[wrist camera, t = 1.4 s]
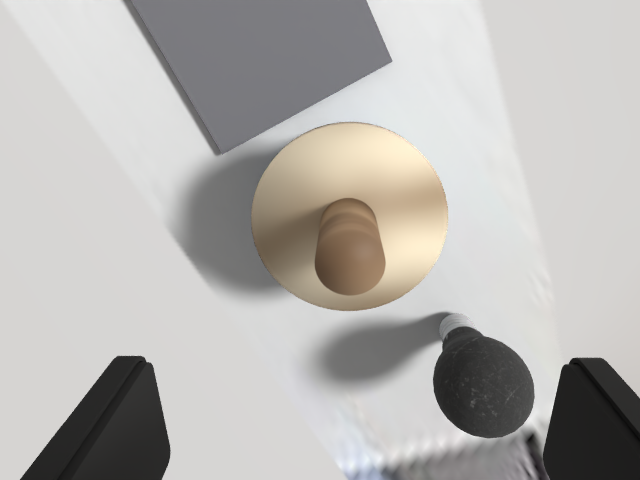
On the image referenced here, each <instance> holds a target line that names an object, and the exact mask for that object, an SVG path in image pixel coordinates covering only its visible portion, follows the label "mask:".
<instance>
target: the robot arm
mask: <svg viewBox="0 0 640 480" xmlns="http://www.w3.org/2000/svg"><path fill="white" fill-rule="evenodd" d="M169 459H170V444H169V439H168V435H167V430H166V425H165V421H164V416H163V411H162V406H161V401H160V397H159V392H158V387H157V383H156V378H155V373H154V368H153V365H152V364H151V363H149V362H146V360H145V358H144V357H142V356H117V357H116V358H114V359H113V361H112V362H111V363H110V365H109V366H108V367H107V368H106V370H105V371H104V372H103V374H102V375H101V376H100V377H99V379H98V380H97V381H96V383H95V384H94V385H93V386H92V388H91V389H90V390H89V392H88V393H87V394H86V395H85V397H84V398H83V399H82V401H81V402H80V403H79V405H78V406H77V407H76V408H75V410H74V411H73V412H72V414H71V415H70V416H69V417H68V419H67V420H66V421H65V422H64V424H63V425H62V426H61V427H60V429H59V430H58V431H57V433H56V434H55V435H54V436H53V438H52V439H51V440H50V441H49V443H48V444H47V445H46V447H45V448H44V449H43V451H42V452H41V453H40V455H39V456H38V457H37V458H36V460H35V461H34V462H33V464H32V465H31V466H30V467H29V469H28V470H27V471H26V472H25V474H24V475H23V477H22V478H21V479H20V480H162V477H163V475H164V473H165V470H166V468H167V466H168V463H169ZM543 461H544V466H545V469H546V472H547V474H548V476H549V478H550V480H640V398H639V397H638V396H637V395H636V394H635V392H634V391H633V390H632V389H631V388H630V387H629V386H628V385H627V384H626V382H624V380H623V379H622V378H621V377H620V376H619V375H618V374H617V372H616V371H615V370H614V369H613V368H612V367H611V366H610V365H609V364H608V363H607V361H605V360H604V359H602V358H573V359H572V360H571V361H570V362H569V364H566V365H564V366H563V367H562V370H561V374H560V379H559V383H558V388H557V393H556V397H555V402H554V406H553V411H552V415H551V420H550V424H549V429H548V433H547V438H546V443H545V447H544V452H543Z"/></svg>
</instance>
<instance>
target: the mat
mask: <svg viewBox="0 0 640 480" xmlns="http://www.w3.org/2000/svg"><path fill="white" fill-rule="evenodd" d="M131 1H132V3H133V5H134V6H135V8H136V10H137V11H138V13H139V15H140V17H141V18H142V20H143V22H144V23H145V25H146V27H147V28H148V30H149V32H150V33H151V35H152V37H153V38H154V40H155V42H156V43H157V45H158V47H159V49H160V50H161V52H162V54H163V55H164V57H165V59H166V60H167V62H168V64H169V65H170V67H171V69H172V70H173V72H174V74H175V76H176V77H177V79H178V81H179V82H180V84H181V86H182V87H183V89H184V91H185V92H186V94H187V96H188V97H189V99H190V101H191V102H192V104H193V106H194V108H195V109H196V111H197V113H198V114H199V116H200V118H201V119H202V121H203V123H204V124H205V126H206V128H207V129H208V131H209V133H210V134H211V136H212V138H213V140H214V141H215V143H216V145H217V146H218V148H219V150H220V151H221V153H222V154H224V153H226V152H228V151H229V150H231V149H233V148H235V147H237V146H239V145H240V144H242V143H244V142H246V141H248V140H250V139H251V138H253V137H255V136H257V135H259V134H261V133H262V132H264V131H266V130H268V129H270V128H272V127H273V126H275V125H277V124H279V123H281V122H283V121H284V120H286V119H288V118H290V117H292V116H294V115H295V114H297V113H299V112H301V111H303V110H305V109H306V108H308V107H310V106H312V105H314V104H316V103H317V102H319V101H321V100H323V99H325V98H327V97H328V96H330V95H332V94H334V93H336V92H337V91H339V90H341V89H343V88H345V87H347V86H348V85H350V84H352V83H354V82H356V81H358V80H359V79H361V78H363V77H365V76H367V75H369V74H370V73H372V72H374V71H376V70H378V69H380V68H381V67H383V66H385V65H387V64H389V63H391V62H392V59H391V57H390V55H389V52H388V50H387V48H386V45H385V43H384V41H383V38H382V36H381V34H380V31H379V29H378V27H377V24H376V22H375V20H374V17H373V15H372V13H371V10H370V8H369V6H368V3H367V1H366V0H131Z"/></svg>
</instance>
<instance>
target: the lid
mask: <svg viewBox="0 0 640 480" xmlns="http://www.w3.org/2000/svg"><path fill="white" fill-rule="evenodd" d="M251 225H252V234H253V238H254V243H255V246H256V248H257V251H258V254H259V256H260V258H261V260H262V262H263V264H264V265H265V267H266V268H267V270H268V271H269V272H270V274H271V275H272V276H273V277H274V278H275V279H276V281H277V282H278V283H279V284H280V285H282V286H283V287H284V288H285V289H286V290H287V291H289V292H290V293H292V294H293V295H295V296H296V297H298V298H300V299H302V300H304V301H306V302H308V303H311V304H313V305H316V306H319V307H323V308H327V309H332V310H340V311H357V310H366V309H371V308H375V307H379V306H382V305H384V304H387V303H390V302H392V301H394V300H396V299H398V298H400V297H401V296H403V295H405V294H406V293H408V292H409V291H411V290H412V289H413V288H414V287H415V286H416V285H418V284H419V283H420V282H421V281H422V280H423V279H424V278H425V276H426V275H427V274H428V273H429V271H430V270H431V269H432V267H433V266H434V264H435V263H436V261H437V259H438V257H439V255H440V253H441V250H442V248H443V245H444V242H445V238H446V233H447V226H448V206H447V201H446V196H445V192H444V189H443V186H442V184H441V181H440V179H439V177H438V175H437V173H436V171H435V170H434V168H433V167H432V166H431V164H430V163H429V161H428V160H427V159H426V158H425V157H424V156H423V155H422V154H421V153H420V152H419V151H418V150H417V149H416V147H415V146H413V145H412V144H411V143H410V142H408V141H407V140H406V139H404V138H403V137H401V136H399V135H398V134H396V133H394V132H392V131H390V130H387V129H385V128H383V127H380V126H376V125H372V124H368V123H360V122H340V123H333V124H327V125H324V126H321V127H317V128H315V129H312V130H310V131H308V132H306V133H304V134H302V135H300V136H299V137H297V138H296V139H294V140H292V141H291V142H290V143H289V144H288V145H286V146H285V147H284V148H283V149H282V150H281V151H280V152H279V153H278V154H277V155H276V157H275V158H274V159H273V160H272V161H271V163H270V164H269V166H268V167H267V169H266V170H265V171H264V173H263V175H262V177H261V179H260V181H259V183H258V185H257V188H256V191H255V194H254V198H253V204H252V211H251Z"/></svg>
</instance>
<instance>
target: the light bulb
mask: <svg viewBox="0 0 640 480" xmlns="http://www.w3.org/2000/svg"><path fill="white" fill-rule="evenodd" d="M439 332H440V336H441V339H442V342H443V346H442V349H443V352H442V353H441V355H440V356H439V358H438V360H437V363H436V366H435V370H434V376H433V385H434V393H435V397H436V400H437V402H438V404H439V406H440V409H441V410H442V412H443V413H444V415H445V416H446V417H447V419H449V420H450V421H451V422H452V423H453V424H454V425H455V426H456V427H458V428H459V429H461V430H463V431H464V432H466V433H468V434H471V435H473V436H478V437H484V438H497V437H503V436H505V435H508V434H510V433H513V432H515V431H516V430H517V429H518V428H519V427H521V426H522V425H523V424H524V422H525V421H526V420H527V418H528V417H529V415H530V413H531V410H532V408H533V403H534V384H533V380H532V377H531V374H530V371H529V370H528V367H527V366H526V364H525V363H524V361H523V360H522V359H521V358H520V356H519V355H518V354H517V353H516V352H515V351H513V350H512V349H511V348H509V347H508V346H506V345H505V344H503V343H502V342H500V341H497V340H495V339H492V338H489V337H485V336H483V335H482V334H481V333H480V332H479V331H477V329H476V328H475V326H474V324H473V322H472V321H471V320H470V319H469V318H468V317H467V316H465V315H463V314H459V313H456V314H451V315H449V316H447V317H445V318H444V319H443V320H442V322H441V324H440V327H439Z"/></svg>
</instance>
